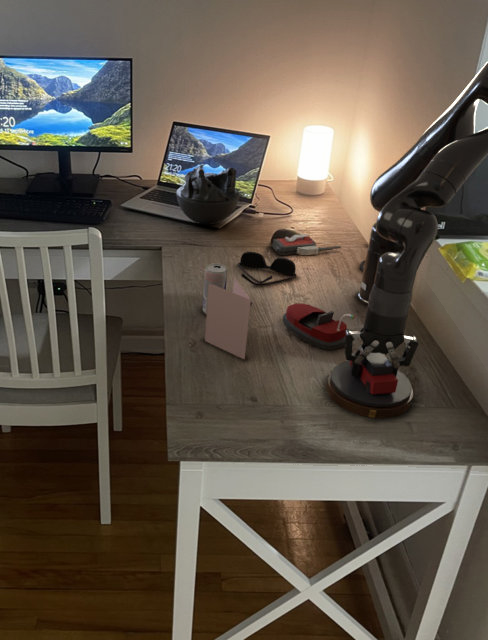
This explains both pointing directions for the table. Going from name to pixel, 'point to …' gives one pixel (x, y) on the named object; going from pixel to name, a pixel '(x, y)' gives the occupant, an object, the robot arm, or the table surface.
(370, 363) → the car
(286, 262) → the sunglasses
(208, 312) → the greeting card
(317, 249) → the walkie-talkie
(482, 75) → the robot arm
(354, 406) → the stand
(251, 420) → the table surface
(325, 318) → the bumper car
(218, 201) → the bowl of black rocks
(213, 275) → the energy drink
